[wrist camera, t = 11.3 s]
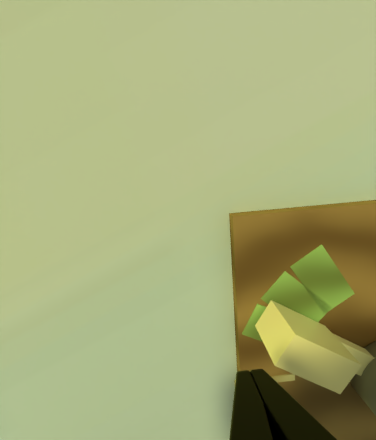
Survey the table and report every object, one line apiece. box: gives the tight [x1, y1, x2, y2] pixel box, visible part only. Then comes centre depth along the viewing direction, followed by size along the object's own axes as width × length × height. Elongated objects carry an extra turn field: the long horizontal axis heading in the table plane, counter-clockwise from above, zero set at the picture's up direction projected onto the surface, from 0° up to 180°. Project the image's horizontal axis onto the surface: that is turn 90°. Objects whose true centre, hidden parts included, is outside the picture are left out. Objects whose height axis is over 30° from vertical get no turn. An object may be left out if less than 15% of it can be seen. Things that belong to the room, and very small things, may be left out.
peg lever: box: [255, 300, 376, 416], centre depth 18 cm, size 15×6×4 cm, turn 62°
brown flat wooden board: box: [229, 200, 376, 440], centre depth 21 cm, size 22×20×1 cm
